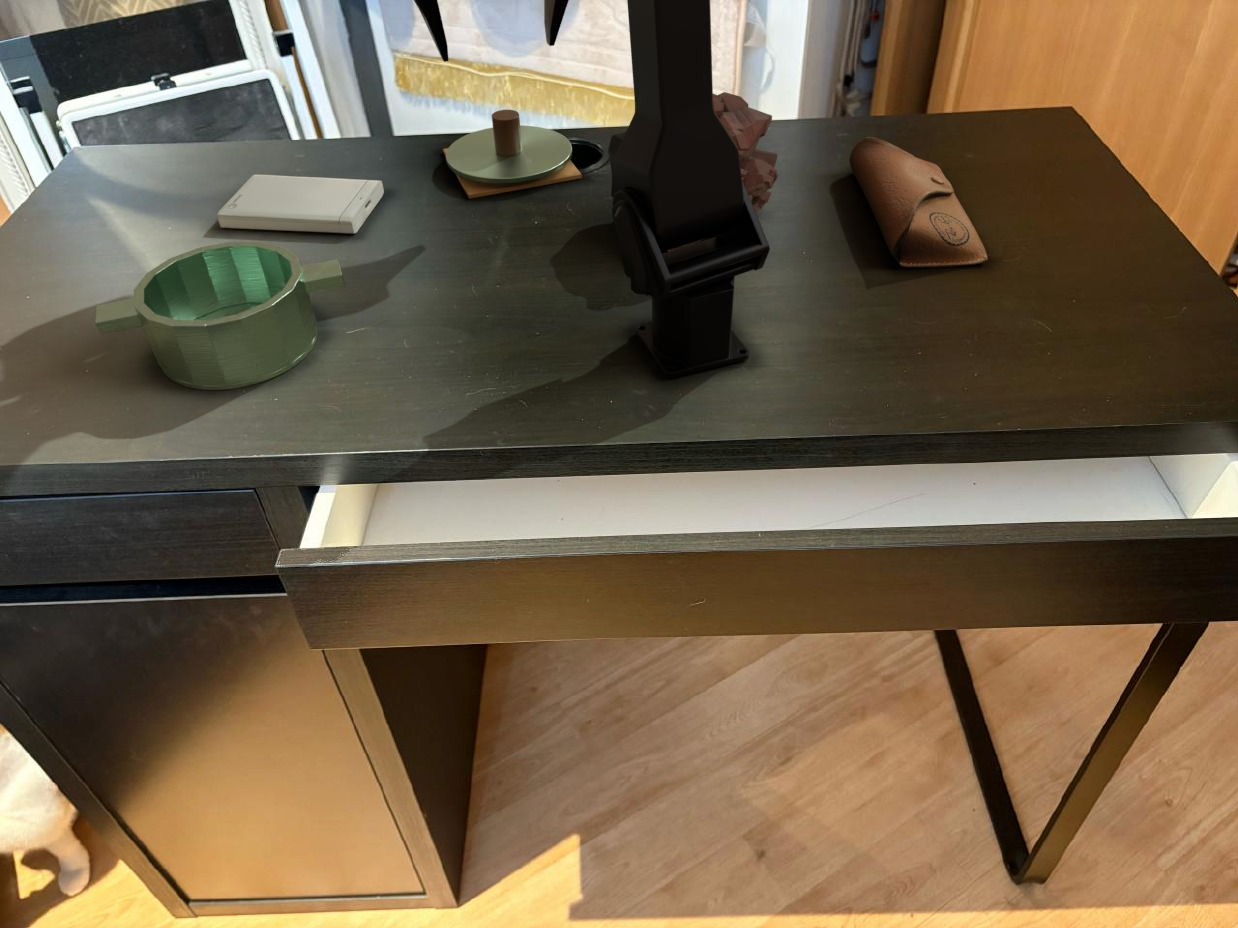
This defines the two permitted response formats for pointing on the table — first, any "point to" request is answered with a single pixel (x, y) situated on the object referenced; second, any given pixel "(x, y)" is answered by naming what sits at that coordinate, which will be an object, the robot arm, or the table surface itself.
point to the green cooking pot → (226, 313)
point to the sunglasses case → (915, 208)
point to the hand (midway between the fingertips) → (498, 52)
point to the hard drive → (301, 204)
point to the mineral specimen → (748, 146)
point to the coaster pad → (484, 188)
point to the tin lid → (508, 151)
